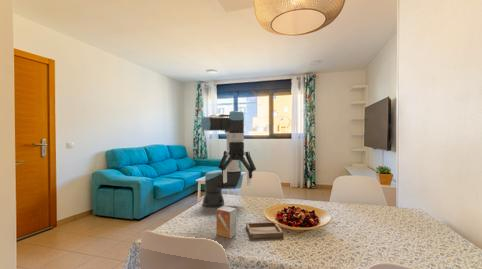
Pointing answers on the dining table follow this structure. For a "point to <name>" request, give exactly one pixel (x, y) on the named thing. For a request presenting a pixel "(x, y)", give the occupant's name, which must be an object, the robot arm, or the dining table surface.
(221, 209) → the small box
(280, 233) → the tray
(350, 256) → the dining table surface
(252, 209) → the dining table surface
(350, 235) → the dining table surface
